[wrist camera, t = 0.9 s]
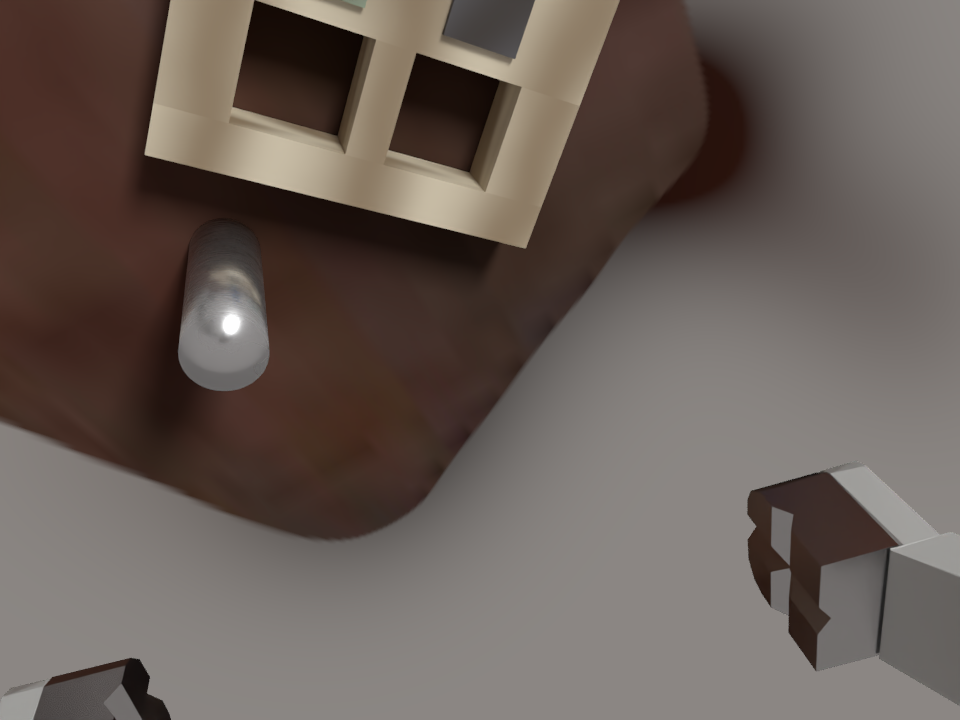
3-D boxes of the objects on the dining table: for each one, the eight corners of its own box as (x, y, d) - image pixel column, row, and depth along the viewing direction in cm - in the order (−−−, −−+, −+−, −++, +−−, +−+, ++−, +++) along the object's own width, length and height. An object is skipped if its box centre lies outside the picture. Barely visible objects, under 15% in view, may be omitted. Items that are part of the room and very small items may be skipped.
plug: (183, 274, 39) (170, 383, 31) (196, 211, 38) (186, 306, 29) (252, 288, 40) (259, 396, 32) (267, 227, 39) (277, 323, 31)
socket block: (150, 135, 36) (143, 157, 33) (203, -179, 31) (201, -183, 28) (507, 226, 42) (527, 250, 39) (598, -22, 37) (627, -14, 34)
